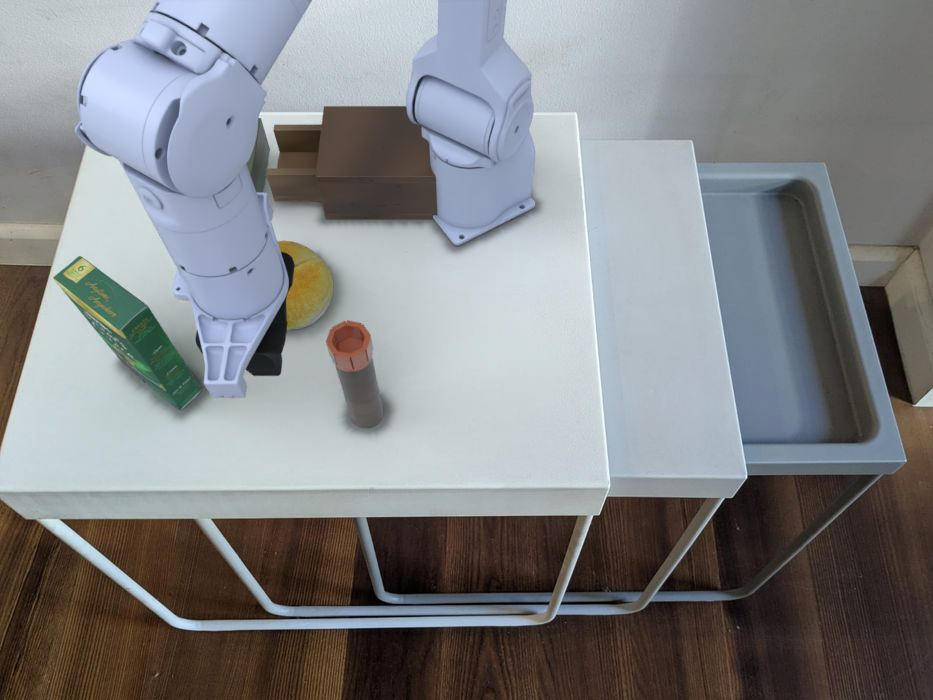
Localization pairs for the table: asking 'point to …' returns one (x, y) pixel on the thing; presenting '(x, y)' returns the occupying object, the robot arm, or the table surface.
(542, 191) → the table surface
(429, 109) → the robot arm
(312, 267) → the bread roll
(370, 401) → the post stand
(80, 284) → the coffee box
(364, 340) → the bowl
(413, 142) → the cabinet
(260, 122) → the drawer
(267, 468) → the table surface
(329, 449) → the table surface
